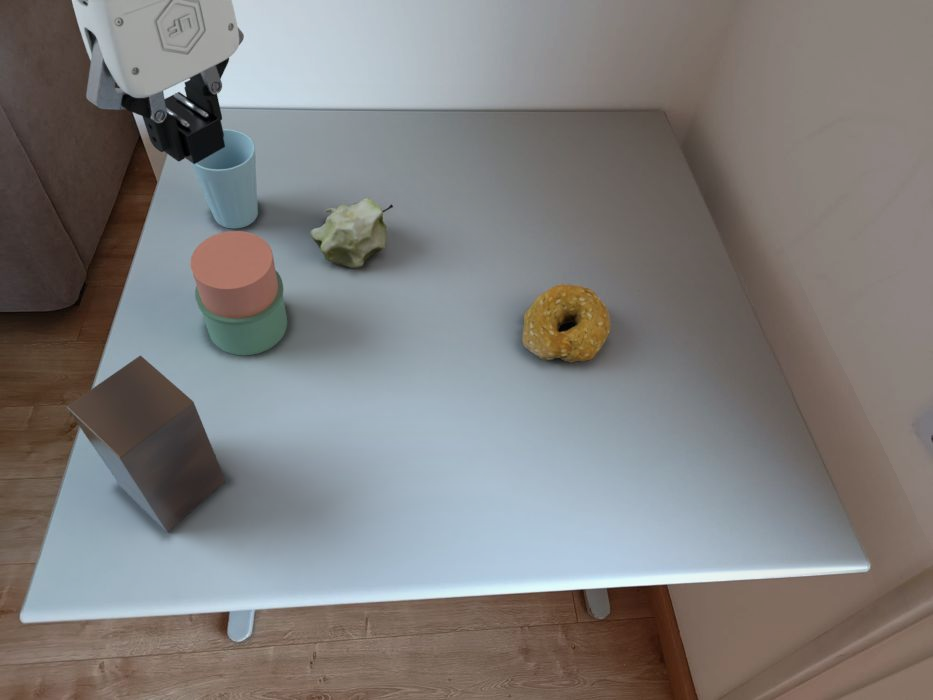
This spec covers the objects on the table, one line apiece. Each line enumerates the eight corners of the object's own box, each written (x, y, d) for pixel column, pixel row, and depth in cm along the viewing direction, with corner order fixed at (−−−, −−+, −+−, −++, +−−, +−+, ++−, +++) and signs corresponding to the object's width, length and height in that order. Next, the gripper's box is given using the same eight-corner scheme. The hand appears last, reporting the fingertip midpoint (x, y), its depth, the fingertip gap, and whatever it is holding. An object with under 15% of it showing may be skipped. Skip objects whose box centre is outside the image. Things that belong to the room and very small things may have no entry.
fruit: (386, 231, 95) (398, 191, 88) (374, 287, 90) (386, 249, 83) (318, 213, 93) (324, 170, 87) (302, 269, 89) (307, 228, 82)
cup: (210, 240, 89) (193, 175, 81) (200, 200, 93) (182, 134, 85) (271, 228, 92) (260, 163, 83) (258, 190, 96) (246, 124, 87)
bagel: (501, 323, 86) (507, 297, 82) (573, 291, 90) (581, 265, 86) (550, 383, 81) (558, 359, 77) (623, 346, 85) (634, 321, 82)
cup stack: (244, 371, 79) (226, 307, 70) (189, 326, 81) (165, 259, 73) (305, 323, 83) (296, 258, 74) (252, 282, 86) (237, 215, 77)
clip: (194, 164, 58) (185, 130, 55) (155, 136, 59) (144, 102, 57) (225, 147, 60) (218, 113, 57) (186, 120, 61) (177, 86, 58)
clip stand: (167, 532, 67) (119, 458, 55) (121, 487, 69) (65, 406, 57) (226, 481, 71) (193, 401, 59) (180, 440, 73) (140, 354, 61)
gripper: (39, -34, 39) (134, 212, 54) (267, -114, 48) (295, 119, 62) (-36, -83, 42) (74, 166, 57) (193, -151, 50) (237, 82, 65)
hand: (190, 139), depth 59 cm, fingers closed on clip, 3 cm apart
